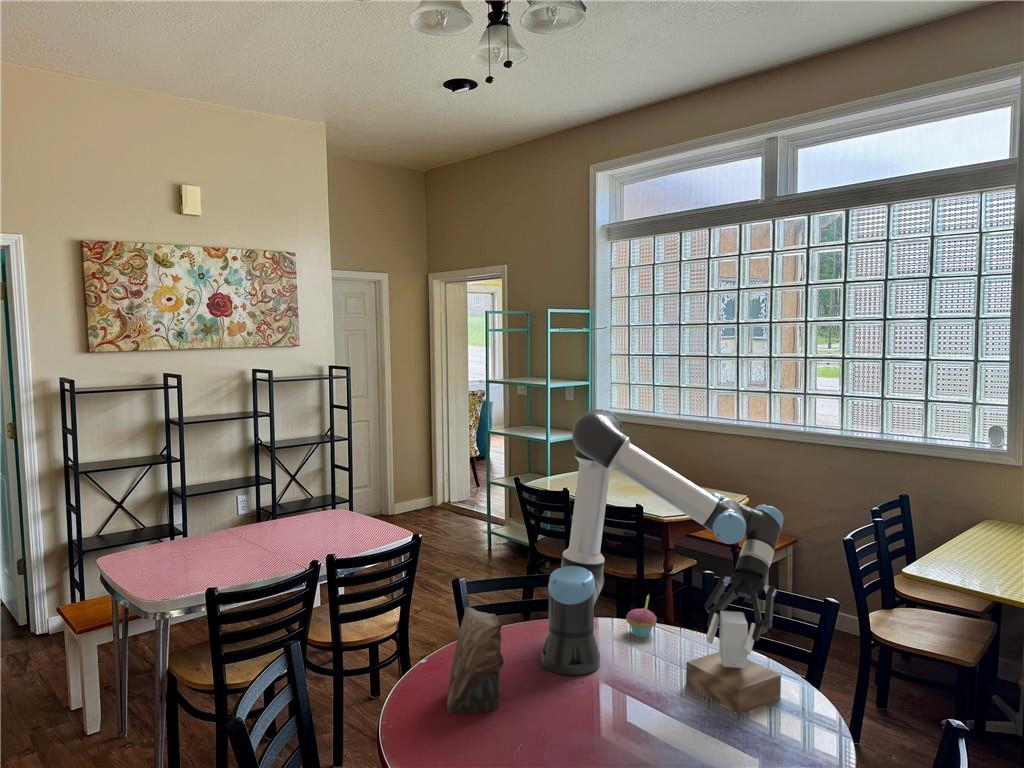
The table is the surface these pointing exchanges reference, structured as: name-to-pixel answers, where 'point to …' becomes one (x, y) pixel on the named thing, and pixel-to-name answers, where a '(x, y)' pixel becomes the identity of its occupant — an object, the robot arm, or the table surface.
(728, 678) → the walnut block
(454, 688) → the owl
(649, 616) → the cupcake
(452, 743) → the table surface
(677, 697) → the table surface
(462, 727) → the table surface
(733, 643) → the small box
